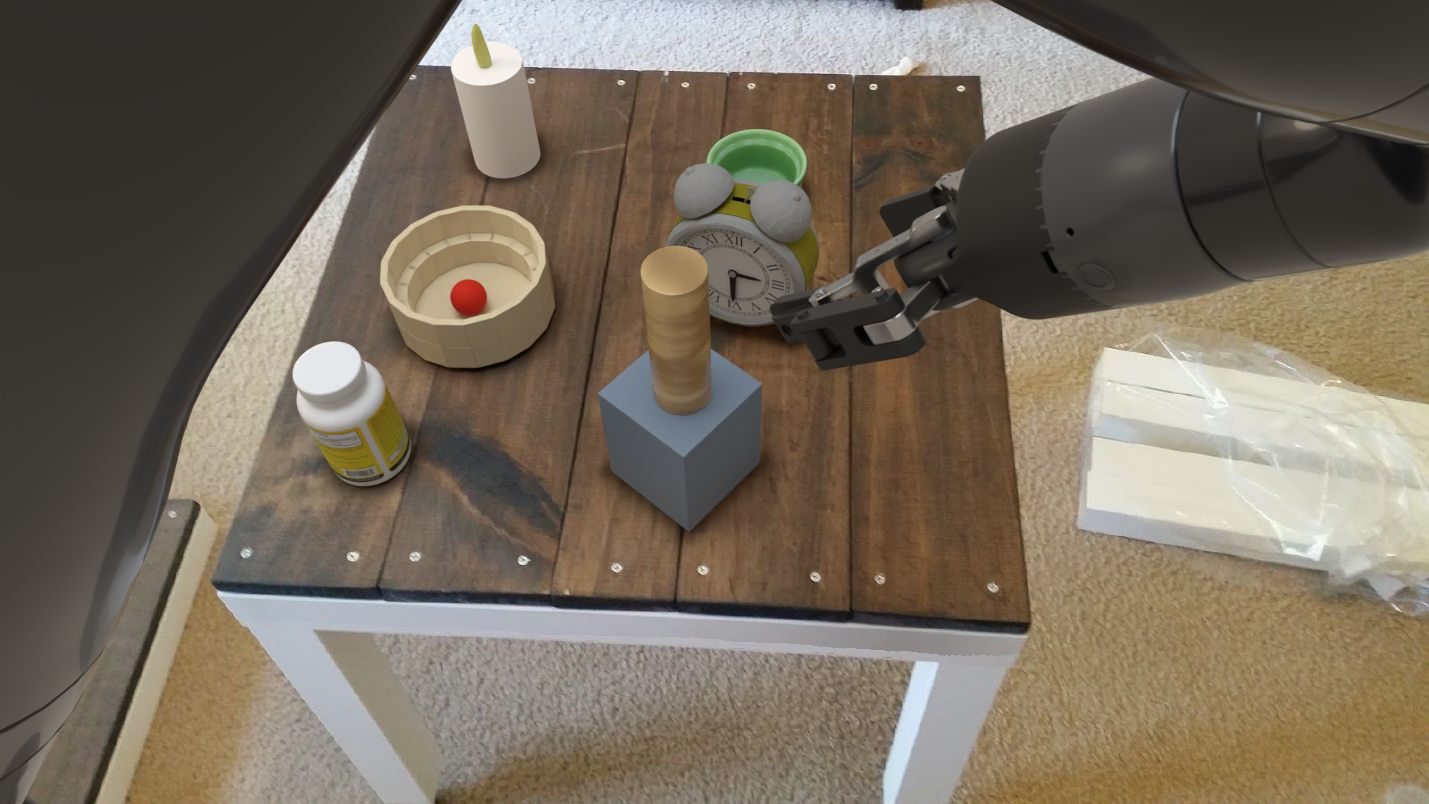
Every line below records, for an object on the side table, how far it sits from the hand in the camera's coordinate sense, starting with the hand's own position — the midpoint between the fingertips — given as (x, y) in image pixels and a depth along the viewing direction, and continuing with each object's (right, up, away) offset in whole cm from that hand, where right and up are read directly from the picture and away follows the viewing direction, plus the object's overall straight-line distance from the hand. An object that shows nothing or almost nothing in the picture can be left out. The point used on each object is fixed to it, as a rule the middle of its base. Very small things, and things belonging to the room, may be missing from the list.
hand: (838, 270), depth 51 cm
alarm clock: (-4, +1, +38) cm, 38 cm away
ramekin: (-2, +12, +46) cm, 48 cm away
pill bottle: (-32, -11, +30) cm, 45 cm away
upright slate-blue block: (-8, -11, +29) cm, 32 cm away
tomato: (-27, +2, +36) cm, 45 cm away
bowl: (-26, +1, +38) cm, 46 cm away
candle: (-26, +17, +50) cm, 59 cm away
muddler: (-8, -6, +20) cm, 23 cm away
